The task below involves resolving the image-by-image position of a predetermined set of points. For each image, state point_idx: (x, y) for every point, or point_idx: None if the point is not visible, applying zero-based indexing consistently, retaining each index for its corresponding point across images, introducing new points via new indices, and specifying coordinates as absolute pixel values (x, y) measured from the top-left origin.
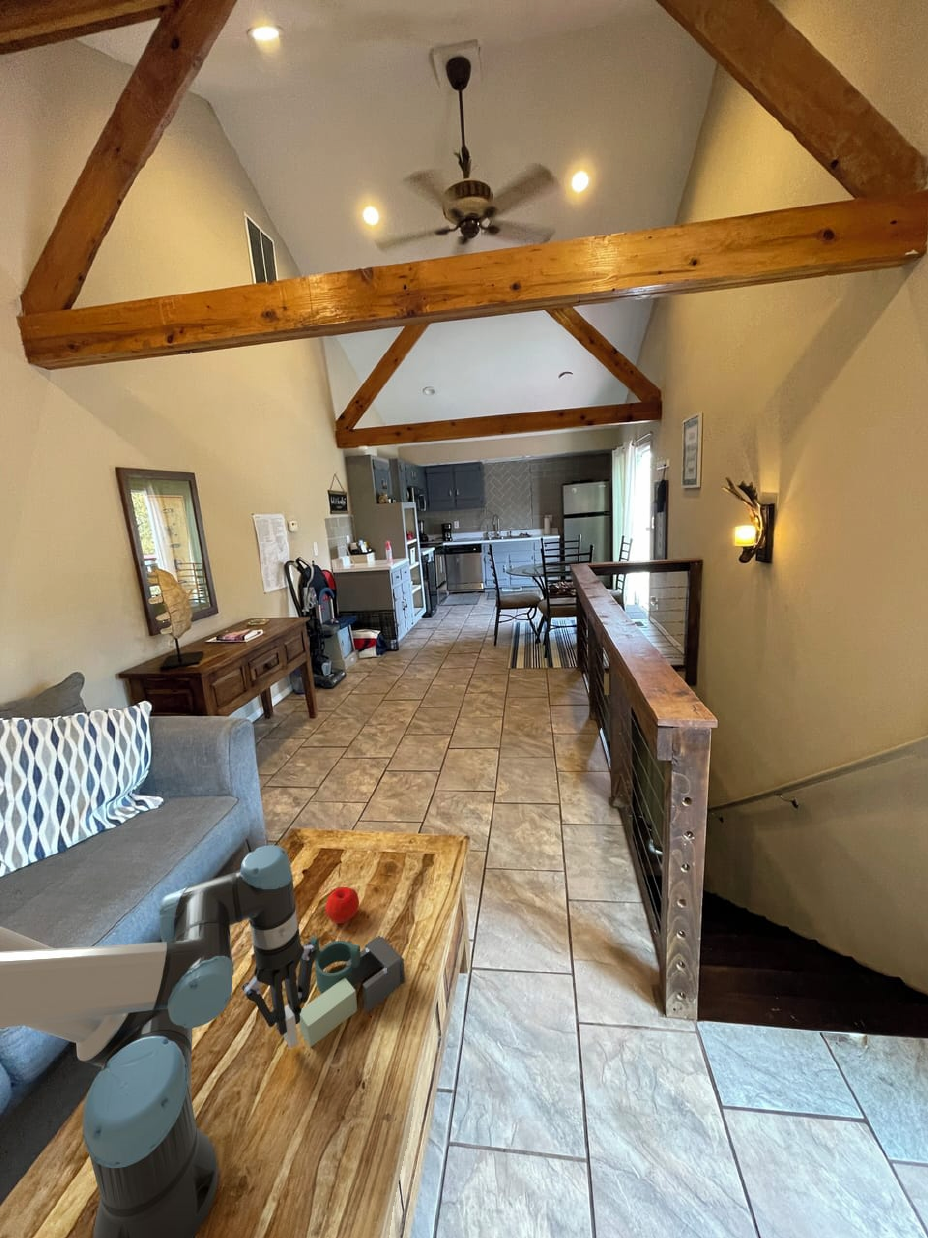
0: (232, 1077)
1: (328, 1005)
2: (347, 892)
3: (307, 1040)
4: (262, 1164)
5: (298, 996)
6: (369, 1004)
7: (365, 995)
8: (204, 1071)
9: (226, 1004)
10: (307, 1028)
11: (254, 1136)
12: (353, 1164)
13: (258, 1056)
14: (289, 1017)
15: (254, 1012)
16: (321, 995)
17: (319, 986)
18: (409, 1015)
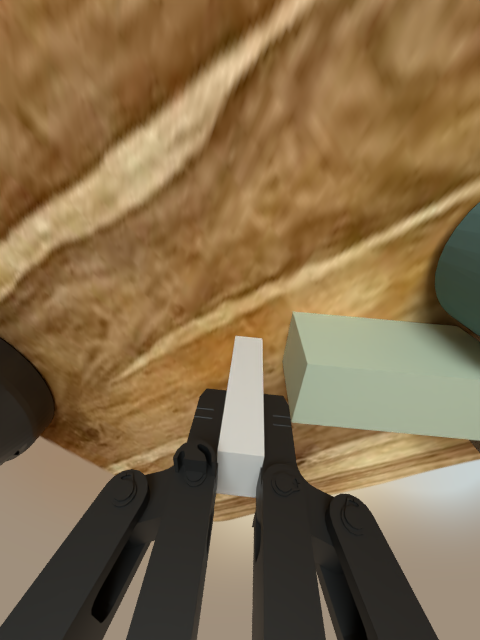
0: (92, 278)
1: (389, 419)
2: None
3: (286, 356)
4: (123, 435)
5: (315, 554)
6: None
7: (478, 441)
8: (7, 187)
9: None
10: (290, 408)
11: (119, 404)
12: (224, 496)
13: (169, 281)
14: (233, 494)
15: (219, 80)
16: (415, 378)
17: (461, 259)
18: (462, 451)
